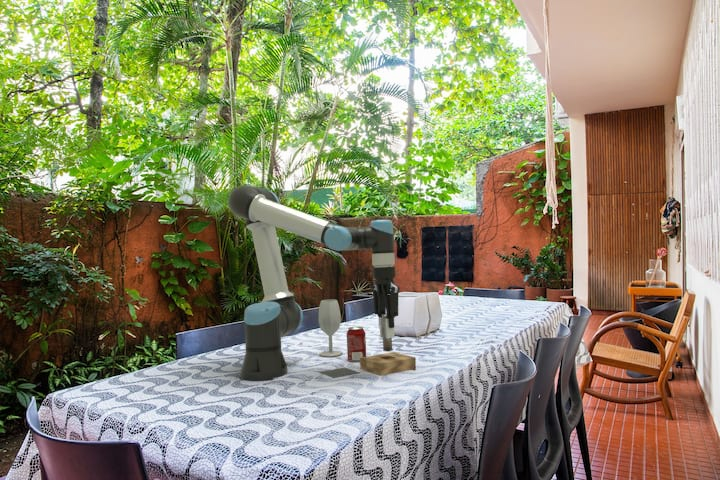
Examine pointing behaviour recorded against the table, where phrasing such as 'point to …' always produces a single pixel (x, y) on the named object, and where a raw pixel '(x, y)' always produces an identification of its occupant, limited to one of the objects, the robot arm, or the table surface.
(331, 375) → the mat
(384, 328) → the pin
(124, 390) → the table surface
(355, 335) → the soda can
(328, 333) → the wineglass
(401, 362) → the hole block
